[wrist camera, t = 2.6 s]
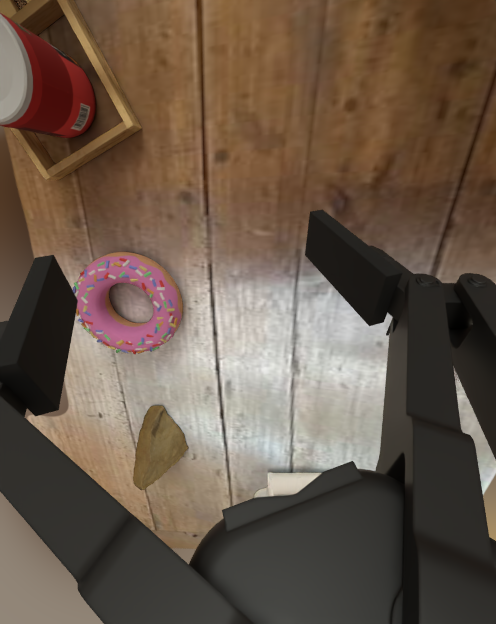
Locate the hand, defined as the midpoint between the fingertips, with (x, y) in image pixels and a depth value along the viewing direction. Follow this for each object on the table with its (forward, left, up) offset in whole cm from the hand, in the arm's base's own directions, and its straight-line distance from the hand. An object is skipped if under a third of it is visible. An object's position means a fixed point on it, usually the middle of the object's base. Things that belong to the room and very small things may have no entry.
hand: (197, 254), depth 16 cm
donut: (+17, -8, -24) cm, 30 cm away
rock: (+39, +4, -24) cm, 46 cm away
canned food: (-3, -22, -24) cm, 33 cm away
